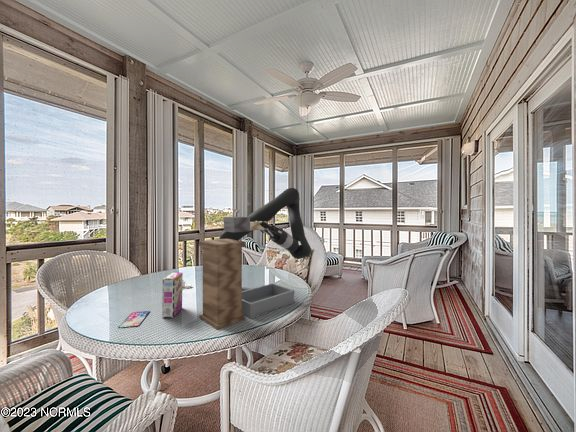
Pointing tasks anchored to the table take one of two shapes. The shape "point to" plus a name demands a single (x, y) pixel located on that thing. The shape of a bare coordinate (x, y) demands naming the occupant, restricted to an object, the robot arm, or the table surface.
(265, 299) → the charcoal tray
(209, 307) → the walnut stand
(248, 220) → the mallet
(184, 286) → the teacup and saucer
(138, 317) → the smartphone
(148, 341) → the table surface
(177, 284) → the candy bar box
